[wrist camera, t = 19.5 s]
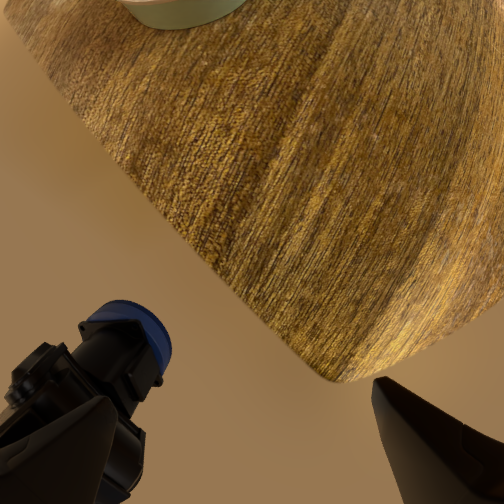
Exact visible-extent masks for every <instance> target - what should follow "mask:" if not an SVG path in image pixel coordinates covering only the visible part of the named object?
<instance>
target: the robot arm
mask: <svg viewBox="0 0 504 504" xmlns="http://www.w3.org/2000/svg"><path fill="white" fill-rule="evenodd" d="M134 324H136V325H137V326H138V327H136V326H135V325H134ZM83 327H84V328H85V329H84V328H83ZM78 328H79V331H80V334H81V336H82V338H83V342H82V343H81V344H80V345H79V346H78V347H77V348H76V349H75V350H74V352H72V354H70V353H69V351H68V350H67V349H68V348H67V347H66V345H65V344H64V342H62V343H60V344H59V345H58V346H55V345H54V346H53V345H50V344H48V343H46V342H44V343H43V344H41V345H40V346H39V347H38V348H37V349H36V350H34V351H33V352H32V353H31V354H30V355H29V356H28V357H27V358H26V359H25V360H24V361H22V362H21V364H19V365H18V366H17V367H16V368H15V369H14V370H13V371H12V384H11V385H10V386H9V391H8V392H7V393H6V395H5V396H4V398H5V400H6V401H7V402H8V403H9V406H8V407H7V408H6V409H5V410H4V411H3V412H2V413H1V414H0V504H120V503H121V502H123V501H125V500H126V499H128V498H129V497H130V496H131V494H130V493H129V492H131V491H132V490H133V489H134V488H135V487H136V485H137V484H138V482H139V481H140V479H141V476H142V473H143V463H144V448H145V437H146V432H144V431H143V430H142V429H141V428H138V427H137V426H136V425H135V424H134V423H133V422H132V421H131V420H130V418H131V417H132V415H133V413H134V411H135V409H136V407H137V405H138V403H139V402H143V401H144V400H145V398H146V396H147V394H148V392H149V390H150V389H151V387H160V386H162V384H163V378H162V376H161V373H160V368H159V365H158V363H157V360H156V357H155V355H154V352H153V350H152V347H151V345H150V344H149V342H148V339H147V336H146V334H145V331H144V328H143V325H142V323H141V321H140V320H138V319H121V320H102V321H82V322H81V323H79V325H78ZM156 380H157V381H158V382H157V381H156ZM371 399H372V405H373V409H374V413H375V416H376V421H377V425H378V429H379V433H380V437H381V441H382V444H383V447H384V449H385V452H386V455H387V458H388V460H389V463H390V466H391V468H392V471H393V474H394V476H395V479H396V482H397V485H398V488H399V491H400V494H401V497H402V499H403V502H404V504H504V443H502V442H499V441H497V440H495V439H493V438H490V437H488V436H486V435H484V434H482V433H480V432H478V431H476V430H475V429H473V428H471V427H469V426H468V425H466V424H464V425H463V423H462V422H461V421H459V420H457V419H455V418H454V417H452V416H450V415H449V414H447V413H445V412H444V411H442V410H440V409H439V408H437V407H436V406H434V405H432V404H430V403H429V402H427V401H425V400H424V399H422V398H421V397H419V396H418V395H416V394H414V393H412V392H411V391H410V390H408V389H406V388H405V387H403V386H401V385H400V384H398V383H397V382H395V381H394V380H392V379H390V378H389V377H387V376H384V377H380V378H376V379H374V381H373V388H372V397H371Z"/></svg>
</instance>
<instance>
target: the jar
mask: <svg viewBox="0 0 504 504" xmlns="http://www.w3.org/2000/svg"><path fill="white" fill-rule="evenodd" d="M116 1H118V2H121V4H122V5H123V6H124V7H125V8H126V9H127V10H128V11H129V12H130V13H131V14H132V15H133V16H134V17H135V18H136V20H137V21H139V22H140V23H142V24H144V25H146V26H148V27H152V28H156V29H162V30H179V29H187V28H192V27H196V26H200V25H203V24H207V23H209V22H212V21H215V20H217V19H219V18H221V17H224V16H225V15H227V14H229V13H231V12H232V11H234V10H235V9H237V8H238V7H239V6H241V5H242V4H243V3H244V2H245V1H246V0H116Z"/></svg>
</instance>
